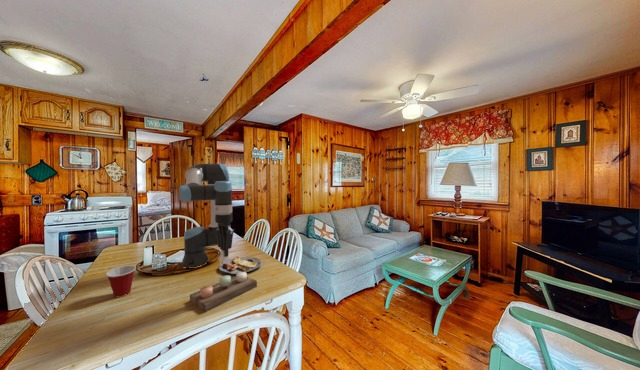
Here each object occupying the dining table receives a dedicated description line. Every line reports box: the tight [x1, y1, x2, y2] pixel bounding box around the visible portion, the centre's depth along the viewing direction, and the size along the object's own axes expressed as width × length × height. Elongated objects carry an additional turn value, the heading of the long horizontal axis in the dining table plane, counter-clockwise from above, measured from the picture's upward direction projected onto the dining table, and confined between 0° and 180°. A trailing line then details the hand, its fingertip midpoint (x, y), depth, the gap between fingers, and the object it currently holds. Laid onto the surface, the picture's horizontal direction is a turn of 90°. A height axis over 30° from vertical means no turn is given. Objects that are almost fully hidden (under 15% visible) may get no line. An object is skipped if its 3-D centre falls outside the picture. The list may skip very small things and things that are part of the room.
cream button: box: [235, 271, 248, 282], centre depth 113 cm, size 5×5×3 cm
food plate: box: [218, 256, 263, 275], centre depth 137 cm, size 25×23×4 cm
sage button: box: [219, 274, 232, 286], centre depth 106 cm, size 5×5×3 cm
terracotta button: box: [199, 285, 213, 298], centre depth 99 cm, size 5×5×3 cm
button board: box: [189, 275, 258, 313], centre depth 106 cm, size 14×26×3 cm, turn 144°
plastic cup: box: [105, 264, 137, 297], centre depth 106 cm, size 11×11×12 cm
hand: (224, 262), depth 106 cm, fingers closed
